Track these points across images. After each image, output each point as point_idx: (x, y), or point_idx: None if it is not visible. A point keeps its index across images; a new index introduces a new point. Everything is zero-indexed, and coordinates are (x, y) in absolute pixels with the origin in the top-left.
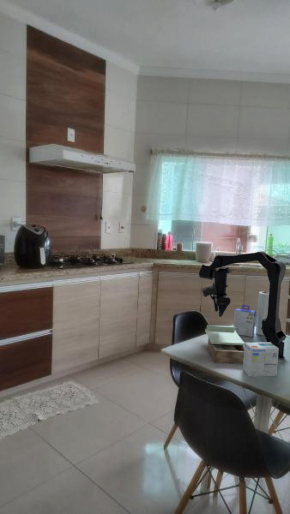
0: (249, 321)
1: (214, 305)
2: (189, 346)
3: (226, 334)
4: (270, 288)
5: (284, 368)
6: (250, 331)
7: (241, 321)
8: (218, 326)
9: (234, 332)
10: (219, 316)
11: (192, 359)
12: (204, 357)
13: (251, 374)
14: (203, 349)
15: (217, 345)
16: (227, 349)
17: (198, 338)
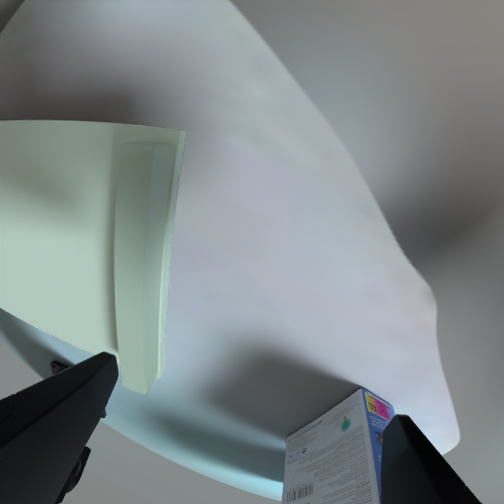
0: (295, 497)
1: (430, 481)
2: (142, 12)
3: (64, 275)
4: None
5: (4, 343)
6: (291, 454)
7: (332, 475)
8: (114, 267)
9: (117, 353)
10: (105, 355)
11: (11, 33)
12: (17, 85)
13: None
14: (91, 91)
15: None
16: None
17: (301, 109)
